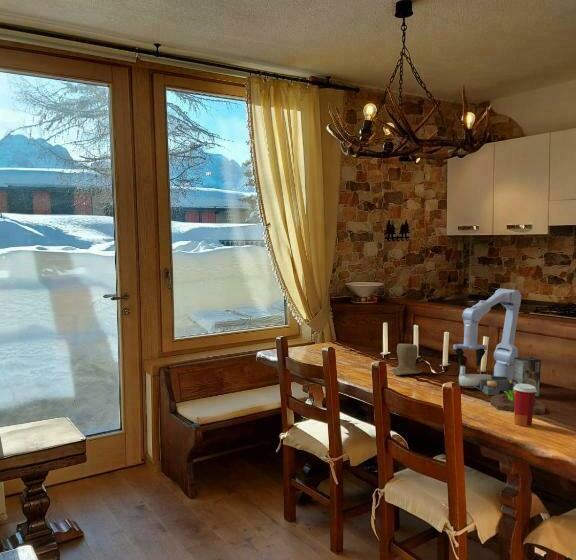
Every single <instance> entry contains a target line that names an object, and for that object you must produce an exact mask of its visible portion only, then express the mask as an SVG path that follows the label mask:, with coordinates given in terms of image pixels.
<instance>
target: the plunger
mask: <svg viewBox="0 0 576 560" xmlns="http://www.w3.org/2000/svg"><path fill="white" fill-rule="evenodd" d="M487 385H488V386H489V388H494V387H496V386H497V382H496V381H487Z"/></svg>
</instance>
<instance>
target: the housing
mask: <svg viewBox="0 0 576 560" xmlns="http://www.w3.org/2000/svg"><path fill="white" fill-rule="evenodd" d="M491 378H492V380H482V379H480V386H473V387H474V388H475V387H476V388H475V389H477V391H479V390H480V391H479V392H482V393H483V392H484V393H483V394H485V395H486V394H487V395H486V396H488V395H491V397H492V395H500V393H505V392H504V391H507V392H508V393H510V392H509V390H511V391H512V390H513V383H512V384H510V382H509V381H510V380H513V378H511V377H509V376H494V375H491ZM487 381H496V382H497V386H496V387H494V388H489V386H488V385H487ZM500 391H501V392H500Z"/></svg>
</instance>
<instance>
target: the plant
mask: <svg viewBox="0 0 576 560" xmlns="http://www.w3.org/2000/svg"><path fill="white" fill-rule="evenodd" d="M514 381H515V382H516V384H518V382H517V381H516V380H510V381H509V382H510V384H512V383H513V382H514ZM491 405H492V407H494V409H496V410H498V411H502V412H509V411H510V413H514V390H513V392H512V391H511V390H509V392H507V391H504V392H503V393H501V394H500V393H499V395H495V396H491V397H490V406H491ZM545 413H546V407H545V406H544V404H543V403H542V402H541V401H539V400H537V399H535V402H534V409H533V415H536V414H539V415H543V414H545Z"/></svg>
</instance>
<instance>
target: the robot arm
mask: <svg viewBox="0 0 576 560" xmlns="http://www.w3.org/2000/svg"><path fill="white" fill-rule="evenodd" d="M521 301H522V294H521V292H520V290H518V289H510V288H509V289H508V288H501V287H500V288H498V289H497V290H495V292H494V293H493V295H492V294H491V296H490V297H488V299H486V300H478V303H476V304H474V305H472V307H467V308H465V309H464V310H462V311H463V312H462V314H461V318H462V319H463V320H462V321H463V324H464V327H463V331H464V332H463V343H458V344H457V343H456V344H453V346H452V347H453V348H452V349H453V350H454V351H455V353H456V356H457V359H458V365H459V367H460V366H463V361H464V360H463V359H464V353H465V352H464V351H465V350H475V352H476V353H475V354H476V356H475V357H476V358H475V359H476V360H475V365H476V367H480V364H481V361H482V359H483V357H484V356H485V354H486V351H487V350H488V345H487V344H478V335H479V333H478V330H479V322H480V321H481V319H482V318H483V316H484V315H486V314H487V313H489V312H490V311H491V308H492V307H494V306H495V305H497V304H500V305H502V306H503V307H504V308H505V309H506V311H505V316H504V324H503V330H502V334H501V335H502V336H501V342H500V343H498V344H496V347H495V350H494V351H493V359H494V360H495V364H494V367H493V376H509V377H511V378H513V371H514V357H519V349H518V347H517V346H515V344H514V343H515V338H516V332H517V331H516V329H517V324H518V317H519V311H520V308H521Z"/></svg>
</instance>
